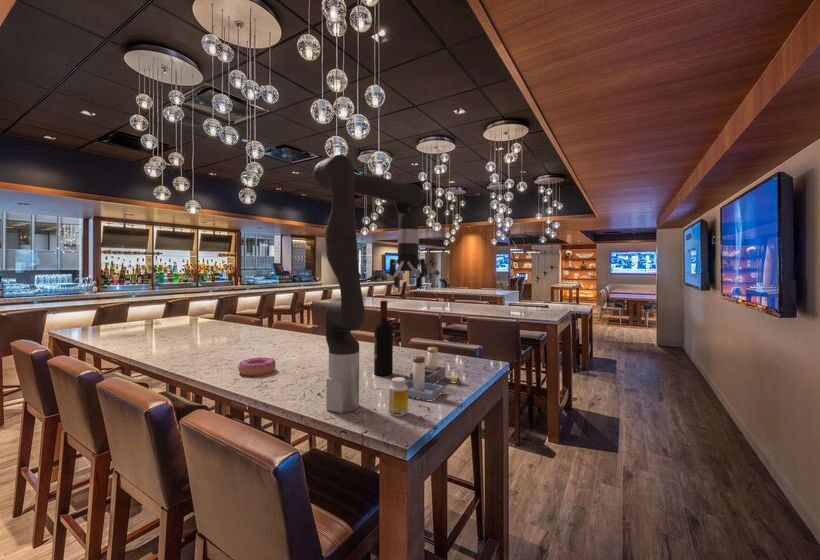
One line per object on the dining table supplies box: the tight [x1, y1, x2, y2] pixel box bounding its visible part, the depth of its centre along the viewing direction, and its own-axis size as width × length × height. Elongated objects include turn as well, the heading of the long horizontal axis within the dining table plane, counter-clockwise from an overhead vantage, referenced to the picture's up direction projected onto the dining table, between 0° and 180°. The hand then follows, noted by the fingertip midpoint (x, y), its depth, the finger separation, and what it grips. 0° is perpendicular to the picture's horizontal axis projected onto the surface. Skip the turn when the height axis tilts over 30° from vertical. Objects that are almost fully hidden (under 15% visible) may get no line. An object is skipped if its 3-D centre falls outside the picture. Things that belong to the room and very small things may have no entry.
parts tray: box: [405, 379, 444, 401], centre depth 124 cm, size 14×10×2 cm
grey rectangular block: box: [409, 364, 446, 384], centre depth 139 cm, size 15×8×4 cm, turn 152°
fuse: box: [426, 346, 439, 371], centre depth 143 cm, size 4×4×12 cm
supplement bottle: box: [388, 376, 409, 417], centre depth 107 cm, size 6×6×10 cm
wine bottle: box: [373, 300, 394, 378], centre depth 148 cm, size 8×8×30 cm
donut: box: [237, 356, 277, 377], centre depth 150 cm, size 14×14×5 cm
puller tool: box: [450, 374, 458, 383], centre depth 140 cm, size 8×2×1 cm, turn 172°
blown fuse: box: [412, 355, 426, 392], centre depth 124 cm, size 4×4×12 cm
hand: (407, 288), depth 130 cm, fingers open, 8 cm apart
